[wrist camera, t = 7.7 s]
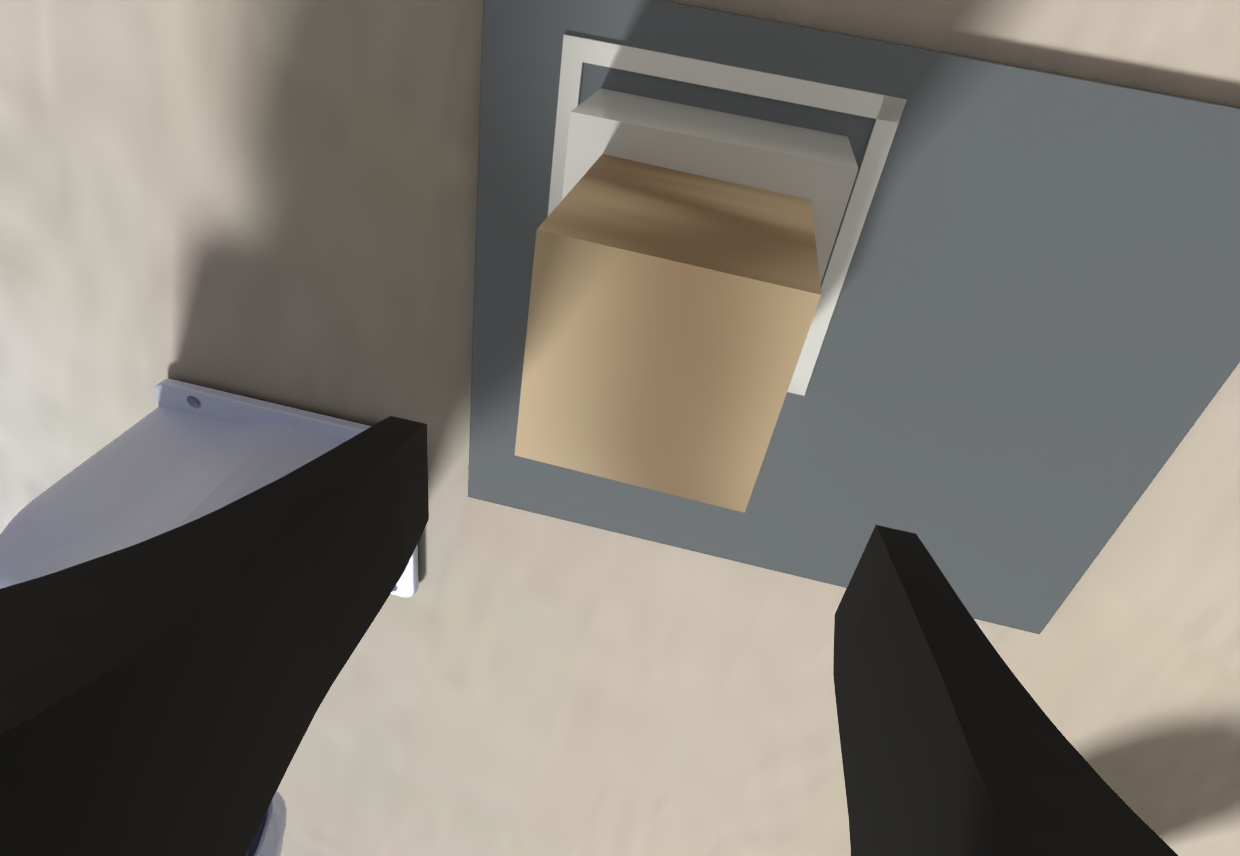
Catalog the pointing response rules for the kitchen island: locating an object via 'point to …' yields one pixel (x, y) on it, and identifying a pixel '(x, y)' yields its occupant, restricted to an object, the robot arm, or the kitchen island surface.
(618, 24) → the slate mat
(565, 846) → the kitchen island surface
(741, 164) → the block
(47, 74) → the kitchen island surface
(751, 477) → the oak block
